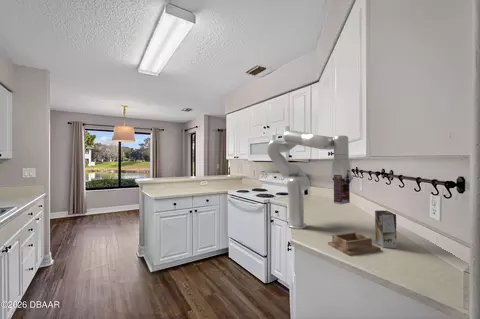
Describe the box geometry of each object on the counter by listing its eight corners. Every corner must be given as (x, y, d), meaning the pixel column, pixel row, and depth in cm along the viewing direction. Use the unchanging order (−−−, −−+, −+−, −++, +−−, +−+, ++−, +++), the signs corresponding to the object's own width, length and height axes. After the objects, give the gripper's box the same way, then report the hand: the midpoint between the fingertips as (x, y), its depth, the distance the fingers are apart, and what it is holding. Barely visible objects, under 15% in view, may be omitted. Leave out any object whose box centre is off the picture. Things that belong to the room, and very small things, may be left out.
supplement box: (341, 204, 120) (341, 175, 120) (333, 203, 124) (332, 174, 124) (350, 202, 125) (349, 174, 125) (342, 201, 129) (341, 174, 129)
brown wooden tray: (328, 244, 113) (327, 234, 113) (356, 240, 118) (356, 230, 118) (349, 255, 100) (349, 243, 100) (380, 250, 105) (380, 239, 105)
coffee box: (397, 248, 107) (397, 214, 107) (382, 247, 108) (382, 214, 108) (388, 241, 116) (387, 210, 116) (374, 240, 117) (374, 210, 117)
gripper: (325, 158, 132) (325, 189, 132) (347, 157, 115) (348, 193, 115) (335, 158, 134) (336, 188, 134) (359, 157, 118) (359, 192, 118)
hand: (341, 190), depth 125 cm, fingers closed on supplement box, 5 cm apart
